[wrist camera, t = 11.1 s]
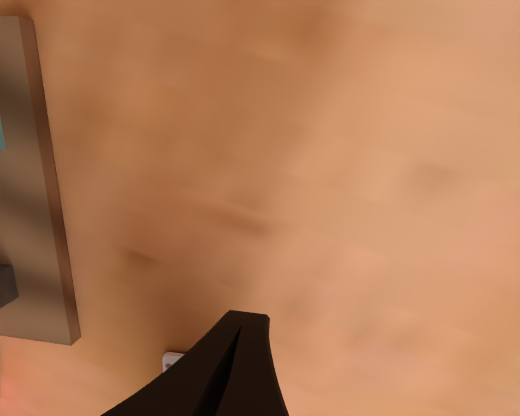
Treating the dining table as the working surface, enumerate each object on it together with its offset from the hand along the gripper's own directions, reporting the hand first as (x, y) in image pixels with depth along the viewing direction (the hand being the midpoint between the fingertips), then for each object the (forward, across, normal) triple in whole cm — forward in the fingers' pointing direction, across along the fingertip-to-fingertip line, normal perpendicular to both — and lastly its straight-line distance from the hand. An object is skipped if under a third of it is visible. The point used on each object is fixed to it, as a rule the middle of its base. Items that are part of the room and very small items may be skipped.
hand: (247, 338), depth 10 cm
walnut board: (+10, +20, -1) cm, 22 cm away
